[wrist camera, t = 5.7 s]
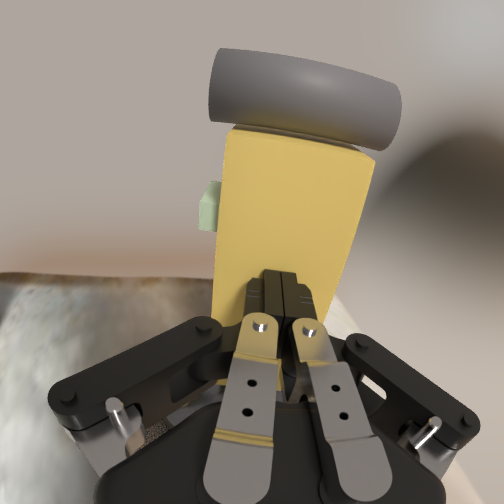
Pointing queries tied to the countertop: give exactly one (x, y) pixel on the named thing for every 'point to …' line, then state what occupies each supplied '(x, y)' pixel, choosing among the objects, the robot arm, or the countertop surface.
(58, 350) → the countertop surface
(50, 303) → the countertop surface
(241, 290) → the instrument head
